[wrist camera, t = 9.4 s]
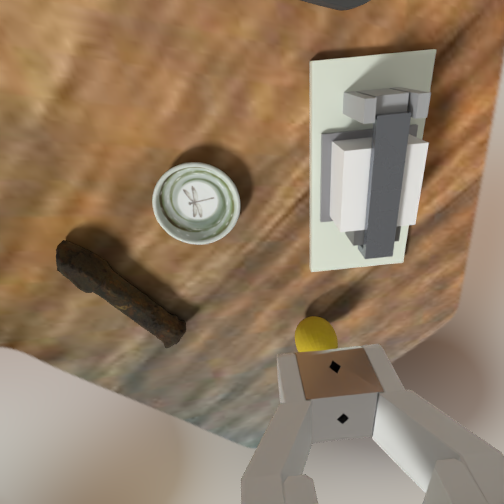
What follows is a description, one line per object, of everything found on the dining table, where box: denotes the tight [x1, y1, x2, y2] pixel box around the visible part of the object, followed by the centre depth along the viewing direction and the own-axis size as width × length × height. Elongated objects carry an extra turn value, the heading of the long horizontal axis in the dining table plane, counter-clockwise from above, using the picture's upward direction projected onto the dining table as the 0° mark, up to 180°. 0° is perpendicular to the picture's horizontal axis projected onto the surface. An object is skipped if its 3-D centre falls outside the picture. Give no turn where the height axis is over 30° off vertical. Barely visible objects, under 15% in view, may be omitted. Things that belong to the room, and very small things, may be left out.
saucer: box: [152, 162, 241, 245], centre depth 39 cm, size 10×10×2 cm
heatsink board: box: [310, 49, 436, 272], centre depth 37 cm, size 24×12×7 cm, turn 5°
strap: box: [358, 111, 412, 259], centre depth 35 cm, size 14×3×2 cm, turn 5°
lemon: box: [295, 316, 338, 352], centre depth 47 cm, size 6×6×8 cm
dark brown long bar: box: [56, 240, 186, 348], centre depth 44 cm, size 19×4×5 cm, turn 38°
